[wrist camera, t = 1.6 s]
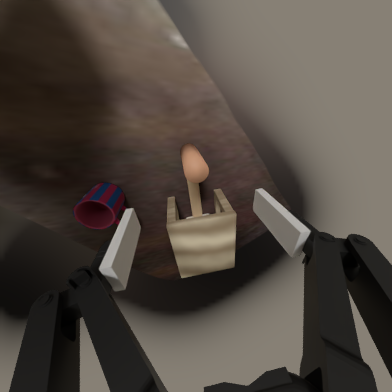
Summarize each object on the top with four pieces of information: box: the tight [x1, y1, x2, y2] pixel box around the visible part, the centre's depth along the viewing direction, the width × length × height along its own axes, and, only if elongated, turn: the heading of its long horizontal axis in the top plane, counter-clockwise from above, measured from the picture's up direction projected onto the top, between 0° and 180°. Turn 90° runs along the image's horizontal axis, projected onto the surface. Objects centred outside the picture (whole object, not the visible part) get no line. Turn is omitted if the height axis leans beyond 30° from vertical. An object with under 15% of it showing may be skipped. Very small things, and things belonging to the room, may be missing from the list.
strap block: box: [180, 143, 209, 219], centre depth 31 cm, size 24×6×11 cm, turn 6°
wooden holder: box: [167, 189, 236, 278], centre depth 35 cm, size 16×13×10 cm
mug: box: [73, 183, 128, 229], centre depth 30 cm, size 7×10×7 cm
